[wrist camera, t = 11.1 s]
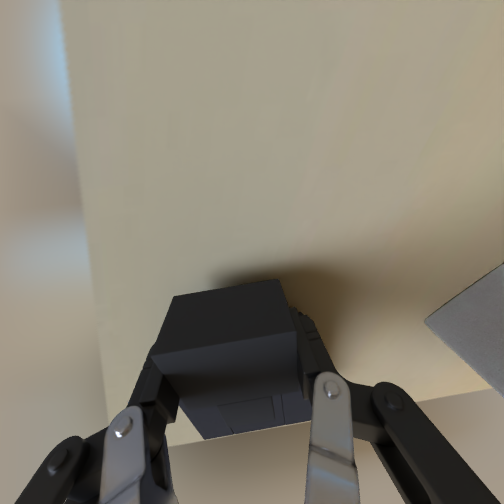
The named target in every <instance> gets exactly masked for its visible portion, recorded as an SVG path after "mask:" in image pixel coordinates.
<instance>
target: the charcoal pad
mask: <svg viewBox="0 0 504 504" xmlns="http://www.w3.org/2000/svg"><path fill="white" fill-rule="evenodd" d="M298 314H299V316H302V315H303V314H302V312H299V313H298ZM298 383H299V381H298ZM272 400H273V406H274V412H275V420H270V421H264V422H258V423H253V424H247V425H241V426H236V427H230V428H227V426H226V424H225V422H224V420H223V418H222V416H221V414H220V412H219V410H218V408H217V406H212V407H206V408H201V409H195V410H189V411H188V410H187V408H186V407H185V405H184V404H183V402H182V401H181V400H179V406H180V407H181V409H182V410H183V411H184V413H185V414H186V416H187V417H188V418H189V420H190V421H191V422H192V424H193V425H194V426H195V428H196V429H197V430H198V432H199V433H200V434H201V436H202V437H203V439H204V440H206V439H211V438H217V437H222V436H228V435H233V434H239V433H244V432H250V431H255V430H261V429H266V428H272V427H277V426H283V425H288V424H294V423H299V422H305V421H310V420H311V418H312V407H311V403H310V400H309V399H307V400H304V398H303V395H302V391H301V388H300V384H299V391H298V392H292V393H286V394H281V395H275V396H272Z"/></svg>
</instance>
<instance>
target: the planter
mask: <svg viewBox="0 0 504 504" xmlns="http://www.w3.org/2000/svg"><path fill="white" fill-rule="evenodd" d="M425 323H426V325H427V326H428V327H429V328H430V329H431V330H432V331H433V333H434V334H435V335H436V336H437V337H438V338H440V339H441V340H442V341H443V342H444V343H445V344H446V345H447V346H448V347H450V348H451V349H452V350H453V351H454V352H455V353H456V354H457V355H458V356H459V357H460V358H462V359H463V360H464V361H465V362H466V363H467V364H468V365H469V366H470V367H471V368H472V369H473V370H474V371H476V372H477V373H478V374H479V375H480V376H481V377H482V378H483V379H484V380H485V381H486V382H487V383H488V384H489V385H491V386H492V387H493V388H494V389H495V390H496V391H497V392H498V393H499V394H500V395H502V397H503V398H504V263H503V264H502V265H500V266H499V267H497V268H496V269H494V270H493V271H491V272H490V273H489V274H487V275H486V276H484V277H483V278H482V279H480V280H479V281H477V282H476V283H474V284H473V285H472V286H470V287H469V288H467V289H466V290H464V291H463V292H462V293H460V294H459V295H457V296H456V297H455V298H453V299H452V300H450V301H449V302H448V303H446V304H445V305H444V306H442V307H441V308H440V309H438V310H437V311H436V312H434V313H433V314H432V315H430V316H429V317H428V318H426V319H425Z"/></svg>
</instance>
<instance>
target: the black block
mask: <svg viewBox="0 0 504 504" xmlns="http://www.w3.org/2000/svg"><path fill="white" fill-rule="evenodd" d="M151 358H152V360H153V361H154V362H155V364H156V365H157V367H158V368H159V370H160V371H161V372H162V374H164V376H165V377H166V379H167V380H168V382H169V383H170V384H171V386H172V387H173V389H174V390H175V392H176V393H177V394H178V396H179V397H180V400H181V401H182V402H183V404H184V405H185V407H186V408H187V410H188V411H189V410H195V409H201V408H206V407H212V406H217V408H218V410H219V412H220V414H221V416H222V418H223V420H224V422H225V424H226V426H227V428H230V427H236V426H241V425H247V424H253V423H258V422H264V421H270V420H275V412H274V406H273V400H272V396H275V395H281V394H286V393H292V392H298V391H299V383H298V374H297V330H296V327H295V324H294V321H293V318H292V315H291V313H290V310H289V307H288V304H287V301H286V298H285V295H284V293H283V290H282V287H281V284H280V281H279V279H273V280H267V281H261V282H256V283H250V284H244V285H238V286H232V287H226V288H220V289H214V290H208V291H202V292H196V293H191V294H185V295H179V296H174V297H173V299H172V302H171V305H170V307H169V310H168V312H167V315H166V317H165V320H164V322H163V325H162V327H161V330H160V333H159V335H158V338H157V340H156V343H155V345H154V348H153V350H152V353H151Z"/></svg>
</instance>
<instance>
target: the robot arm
mask: <svg viewBox="0 0 504 504" xmlns="http://www.w3.org/2000/svg"><path fill="white" fill-rule="evenodd" d="M289 310H290V313H291V315H292V318H293V321H294V324H295V327H296V330H297V374H298V381H299V384H300V388H301V391H302V395H303V398H304V400H307V399H309V400H310V403H311V407H312V418H311V430H310V444H309V453H308V465H307V477H306V478H307V479H306V490H305V502H304V504H360V494H359V482H358V481H359V480H358V472H357V467H356V464H355V459H354V447H353V437H354V438H358V439H362V440H365V441H369V442H370V443H371V445H372V446H373V448H374V450H375V452H376V454H377V455H378V457H379V459H380V460H381V462H382V464H383V466H384V467H385V469H386V471H387V472H388V474H389V476H390V478H391V480H392V481H393V483H394V485H395V486H396V488H397V490H398V492H399V493H400V495H401V497H402V499H403V500H404V502H405V504H501V503H500V502H499V501H498V500H497V498H496V497H495V496H494V495H493V494H492V493H491V491H490V490H489V489H488V488H487V487H486V486H485V484H484V483H483V482H482V481H481V480H480V479H479V477H478V476H477V475H476V474H475V473H474V471H473V470H472V469H471V468H470V467H469V466H468V464H467V463H466V462H465V461H464V460H463V459H462V457H461V456H460V455H459V454H458V453H457V451H456V450H455V449H454V448H453V447H452V446H451V444H450V443H449V442H448V441H447V440H446V438H445V437H444V436H443V435H442V434H441V433H440V431H439V430H438V429H437V428H436V427H435V426H434V424H433V423H432V422H431V421H430V420H429V418H428V417H427V416H426V415H425V414H424V413H423V411H422V410H421V409H420V408H419V407H418V406H417V404H416V403H415V402H414V401H413V400H412V398H411V397H410V396H409V395H408V394H407V393H406V392H405V391H404V390H403V389H401V388H400V387H398V386H397V385H395V384H392V383H389V382H380V383H377V384H376V385H375V386H374V387H371V386H366V385H360V384H356V383H352V382H350V381H348V380H346V379H345V378H343V377H342V376H341V375H340V374H339V373H338V372H337V370H336V369H335V367H334V365H333V363H332V361H331V358H330V356H329V354H328V352H327V350H326V348H325V346H324V343H323V341H322V339H321V337H320V335H319V333H318V331H317V328H316V326H315V324H314V322H313V321H312V320H311V319H310V318H309V317H308V316H307V315H302V316H299V314H298V312H297V309H296V307H291V308H289ZM155 343H156V342H155ZM154 345H155V344H154ZM154 345H153V346H152V347H151V349H150V351H149V353H148V356H147V358H146V361H145V363H144V366H143V370H142V371H141V373H140V376H139V378H138V380H137V383H136V385H135V388H134V390H133V393H132V395H131V398H130V400H129V403H128V405H127V407H126V408H125V409H124V410H122V411H121V412H120V413H119V414H118V415H117V416H116V417H115V418H114V419H113V420H112V422H111V423H110V425H109V426H108V427H106V428H104V429H103V430H101V431H99V432H97V433H95V434H94V435H92V436H90V437H88V438H86V439H82V438H81V437H79V436H72V437H69V438H67V439H65V440H63V441H62V442H61V443H59V444H58V445H57V446H56V447H55V448H54V449H53V450H52V451H51V452H50V453H49V454H48V456H47V457H46V458H45V460H44V461H43V463H42V464H41V466H40V467H39V468H38V470H37V471H36V473H35V474H34V476H33V477H32V479H31V480H30V482H29V483H28V485H27V486H26V488H25V489H24V490H23V492H22V493H21V495H20V497H19V498H18V499H17V501H16V502H15V504H179V503H178V500H177V497H176V495H175V493H174V489H173V484H172V477H171V471H170V462H169V455H168V448H167V441H166V436H165V429H166V425H167V424H169V423H174V422H175V420H176V415H177V410H178V405H179V400H180V397H179V396H178V394H177V393H176V392H175V390H174V389H173V387H172V386H171V384H170V383H169V382H168V380H167V379H166V377H165V376H164V374H162V372H161V371H160V370H159V368H158V367H157V365H156V364H155V362H154V361H153V360H152V358H151V353H152V350H153V348H154ZM66 498H67V500H66ZM65 500H66V501H65ZM64 502H65V503H64Z"/></svg>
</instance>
